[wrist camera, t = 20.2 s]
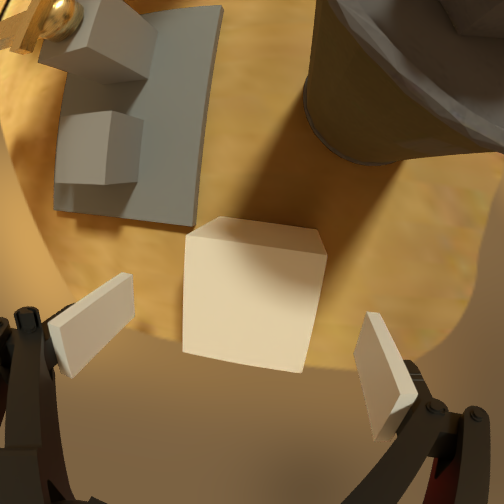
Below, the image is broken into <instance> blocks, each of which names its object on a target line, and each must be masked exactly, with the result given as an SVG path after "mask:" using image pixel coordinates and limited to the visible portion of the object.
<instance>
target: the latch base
mask: <svg viewBox="0 0 504 504" xmlns="http://www.w3.org/2000/svg"><path fill="white" fill-rule="evenodd" d="M75 1H76V2H78V3H80V4H81V5H83V7H84V14H83V17H82V20H81V22H80V23H79V25H78V27H77V28H76V29H75V31H74V32H73V33H72V34H71V35H70V36H69V37H67V38H66V39H65V40H63V41H61V42H57V43H55V42H52V41H49V40H47V39H44V41H43V45H42V48H41V52H40V55H39V59H38V63H41V64H44V65H48V66H51V67H54V68H57V69H60V70H63V71H66V72H68V74H67V79H66V84H65V89H64V94H63V100H62V106H61V112H60V119H59V127H58V135H57V145H56V156H55V172H54V210H57V211H66V212H75V213H84V214H93V215H102V216H110V217H119V218H127V219H135V220H143V221H152V222H160V223H168V224H175V225H183V226H191V227H192V226H194V225H196V217H197V205H198V193H199V182H200V172H201V162H202V153H203V144H204V135H205V127H206V119H207V111H208V104H209V96H210V89H211V83H212V76H213V69H214V63H215V57H216V51H217V45H218V39H219V33H220V28H221V23H222V17H223V12H224V9H223V7H222V5H214V6H199V7H189V8H180V9H172V10H165V11H158V12H152V13H147V14H141V15H139V14H138V13H137V12H136V11H135V10H133V9H132V8H131V7H130V6H129V5H127V4H126V3H125V2H124V1H123V0H75Z"/></svg>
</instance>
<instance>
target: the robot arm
mask: <svg viewBox="0 0 504 504" xmlns="http://www.w3.org/2000/svg"><path fill="white" fill-rule="evenodd" d="M134 317H135V310H134V292H133V274H128V273H123V272H121V273H120V274H118V275H117V276H115V277H114V278H112V279H111V280H109V281H108V282H106V283H105V284H103V285H102V286H100V287H99V288H97V289H96V290H94V291H93V292H91V293H90V294H88V295H87V296H85V297H84V298H82V299H81V300H79V301H78V302H76V303H73V304H70V305H67V306H66V307H64V308H63V309H61V311H58V312H57V313H56V314H54V315H53V316H51V317H50V318H48V319H47V320H46V321H44V322H43V323H41V320H40V315H39V310H38V309H37V308H35V307H22V308H20V309H18V310H17V311H16V312H15V313H14V318H15V321H16V325H17V329H14V328H10V325H9V321H8V319H6V318H3V317H0V426H1V422H2V420H3V417H4V413H5V411H6V421H5V448H0V504H107V503H104V502H102V501H100V500H98V499H96V498H94V497H91V498H90V500H89V501H88V502H87V501H81V500H76V499H75V498H74V495H73V493H72V491H71V489H70V485H69V481H68V476H67V471H66V467H65V461H64V456H63V450H62V444H61V437H60V430H59V422H58V412H57V401H56V386H55V372H54V369H53V367H54V366H55V365H56V364H57V363H58V366H59V369H60V372H61V373H62V374H64V375H66V376H68V377H70V378H73V377H74V376H75V375H76V374H77V373H78V372H79V371H80V370H81V369H82V368H83V367H84V366H85V365H86V364H87V363H88V362H89V361H90V360H91V359H92V358H93V357H94V356H95V355H96V354H97V353H98V352H99V351H100V350H101V349H102V348H103V347H104V346H105V345H106V344H107V343H108V342H109V341H110V340H111V339H112V338H113V337H114V336H115V335H116V334H117V333H118V332H119V331H120V330H121V329H122V328H123V327H124V326H125V325H126V324H127V323H128V322H129V321H130V320H131V319H133V318H134ZM354 358H355V362H356V365H357V369H358V373H359V378H360V382H361V386H362V390H363V394H364V398H365V403H366V407H367V412H368V416H369V421H370V425H371V430H372V435H373V440H374V442H385V441H391V439H392V438H393V436H394V435H395V433H397V439H396V440H395V441H394V442H393V444H392V445H391V447H390V448H389V449H388V450H387V452H386V453H385V454H384V455H383V457H382V458H381V459H380V460H379V462H378V463H377V464H376V465H375V467H374V468H373V469H372V470H371V471H370V472H369V474H368V475H367V476H366V477H365V478H364V479H363V480H362V482H361V483H360V484H359V485H358V486H357V487H356V488H355V489H354V490H353V491H352V492H351V493H350V495H349V496H348V497H347V498H346V499H345V500H344V501H343V502H342V503H341V504H397V502H398V501H399V500H400V498H401V497H402V495H403V494H404V492H405V491H406V489H407V488H408V486H409V485H410V483H411V482H412V480H413V479H414V477H415V476H416V474H417V472H418V471H419V469H420V467H421V466H422V464H423V462H424V461H425V459H426V457H427V456H428V457H434V460H433V465H432V470H431V474H430V478H429V482H428V486H427V490H426V494H425V498H424V501H423V504H487V503H488V493H489V481H490V421H489V416H488V414H487V413H486V411H485V410H484V409H482V408H480V407H478V406H470V407H468V408H466V409H465V411H464V412H463V414H458V413H452V412H449V411H448V408H447V406H446V405H445V404H444V403H443V402H442V401H440V400H438V399H435V398H432V395H431V393H430V391H429V389H428V387H427V385H426V383H425V381H424V379H423V377H422V375H421V373H420V371H419V369H418V367H417V366H416V365H415V364H414V363H413V362H412V361H411V360H403V359H402V357H401V355H400V353H399V351H398V349H397V347H396V345H395V343H394V341H393V339H392V337H391V335H390V333H389V331H388V329H387V327H386V325H385V323H384V321H383V319H382V317H381V315H380V313H375V312H366V315H365V318H364V322H363V325H362V328H361V332H360V335H359V338H358V341H357V344H356V348H355V351H354Z"/></svg>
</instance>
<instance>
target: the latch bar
mask: <svg viewBox="0 0 504 504" xmlns="http://www.w3.org/2000/svg"><path fill="white" fill-rule="evenodd" d="M83 14H84V7H83V5H81V4H80V3H78V2H76V1H75V0H32V1H31V3H30V5H29V7H28V9H27V11H24V12H22V13H19V14H17V15H14V16H12V17H10V18H7V19H5V20H3V21H1V22H0V50H2V49H5V48H8V47H11V48H10V51H11V52H15V53H18V54H22V55H23V54H27V53H32V52H33V49H34V47H35V44H36V42H37V40H38V39H42V38H44V39H47V40H49V41H52V42H55V43H57V42H61V41H63V40H65V39H66V38H67V37H69V36H70V35H71V34H72V33H73V32H74V31H75V29H76V28H77V27H78V25H79V23H80V22H81V20H82V17H83Z"/></svg>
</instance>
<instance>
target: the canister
mask: <svg viewBox="0 0 504 504" xmlns="http://www.w3.org/2000/svg"><path fill="white" fill-rule="evenodd" d="M303 103H304V110H305V113H306V116H307V119H308V121H309V124H310V126H311V128H312V130H313V131H314V133H315V134H316V136H317V137H318V138H319V139H320V140H321V141H322V143H323V144H324V145H325V146H326V147H327V148H328V149H329V150H331V151H332V152H334V153H335V154H337V155H338V156H340V157H341V158H344V159H346V160H348V161H351V162H353V163H356V164H361V165H367V166H381V165H386V164H390V163H393V162H396V161H399V160H407V159H416V158H425V157H434V156H445V155H456V154H469V153H483V152H499V153H502V154H504V0H316V9H315V19H314V29H313V38H312V47H311V56H310V64H309V73H308V76H307V78H306V82H305V85H304V91H303Z"/></svg>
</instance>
